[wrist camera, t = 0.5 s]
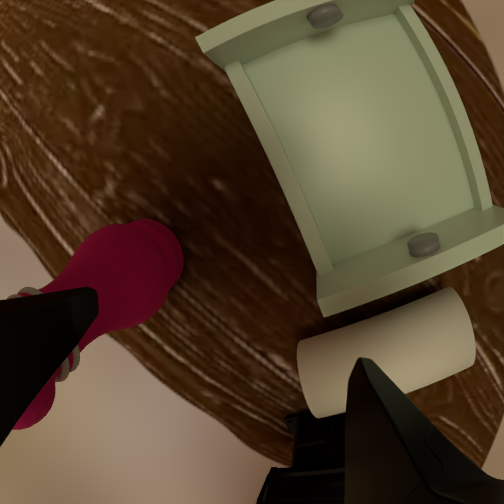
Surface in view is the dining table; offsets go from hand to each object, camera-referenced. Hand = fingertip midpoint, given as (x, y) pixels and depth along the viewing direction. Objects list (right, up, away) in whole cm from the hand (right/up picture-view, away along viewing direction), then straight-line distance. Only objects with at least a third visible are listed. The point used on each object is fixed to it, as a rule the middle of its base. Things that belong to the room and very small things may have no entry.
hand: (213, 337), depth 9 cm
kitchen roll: (+11, -5, +10) cm, 16 cm away
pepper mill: (-7, +2, +15) cm, 17 cm away
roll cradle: (+9, +11, +9) cm, 16 cm away
